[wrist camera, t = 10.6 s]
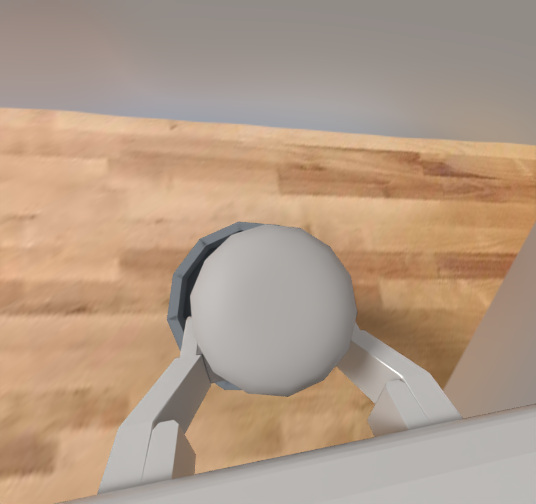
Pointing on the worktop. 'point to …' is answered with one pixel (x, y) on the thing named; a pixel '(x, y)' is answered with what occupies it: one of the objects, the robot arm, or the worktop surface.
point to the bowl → (187, 278)
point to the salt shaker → (273, 310)
